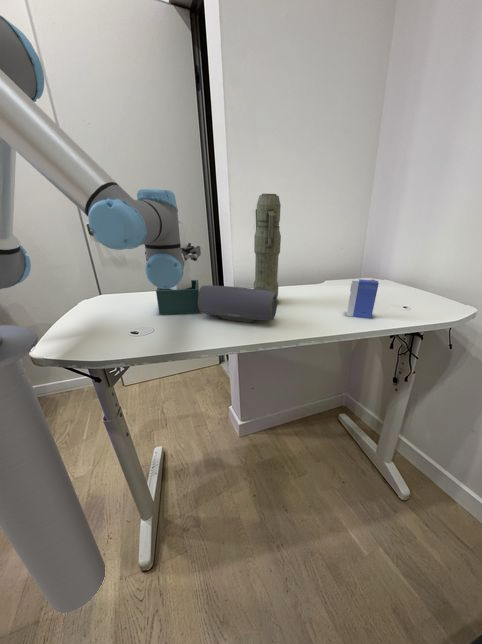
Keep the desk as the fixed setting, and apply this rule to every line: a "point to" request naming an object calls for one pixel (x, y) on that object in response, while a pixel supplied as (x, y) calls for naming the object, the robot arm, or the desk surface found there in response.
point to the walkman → (362, 298)
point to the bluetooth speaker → (237, 303)
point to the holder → (178, 300)
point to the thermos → (267, 243)
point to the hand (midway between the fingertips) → (175, 247)
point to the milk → (186, 277)
